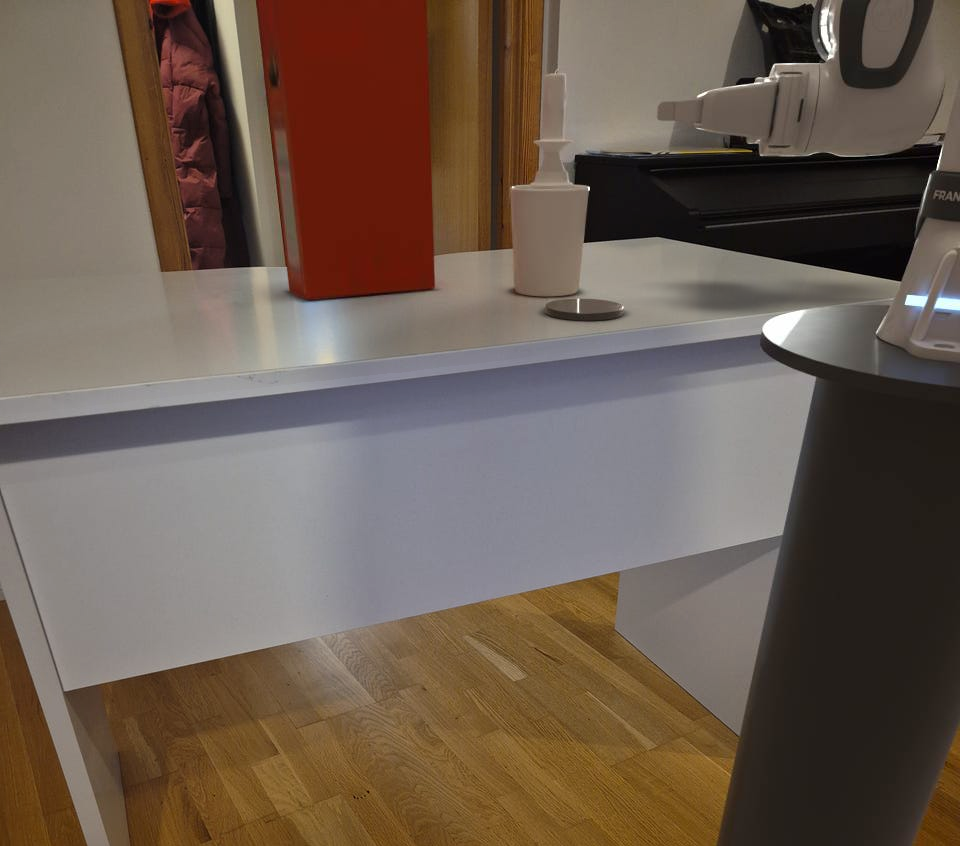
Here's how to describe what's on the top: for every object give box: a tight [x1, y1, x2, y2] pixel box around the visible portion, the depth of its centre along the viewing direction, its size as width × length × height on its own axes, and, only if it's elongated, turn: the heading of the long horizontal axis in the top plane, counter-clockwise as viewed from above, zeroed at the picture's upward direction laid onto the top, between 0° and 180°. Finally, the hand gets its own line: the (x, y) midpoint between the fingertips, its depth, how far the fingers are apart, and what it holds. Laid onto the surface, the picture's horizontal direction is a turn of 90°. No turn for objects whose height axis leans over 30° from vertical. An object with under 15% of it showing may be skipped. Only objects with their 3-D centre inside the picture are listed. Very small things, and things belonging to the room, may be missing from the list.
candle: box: [529, 67, 574, 187], centre depth 99 cm, size 5×5×12 cm
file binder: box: [255, 0, 436, 301], centre depth 101 cm, size 8×17×32 cm, turn 118°
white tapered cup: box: [509, 184, 591, 297], centre depth 106 cm, size 10×10×12 cm
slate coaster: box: [544, 298, 624, 322], centre depth 97 cm, size 9×9×1 cm
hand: (657, 111), depth 96 cm, fingers open, 8 cm apart
